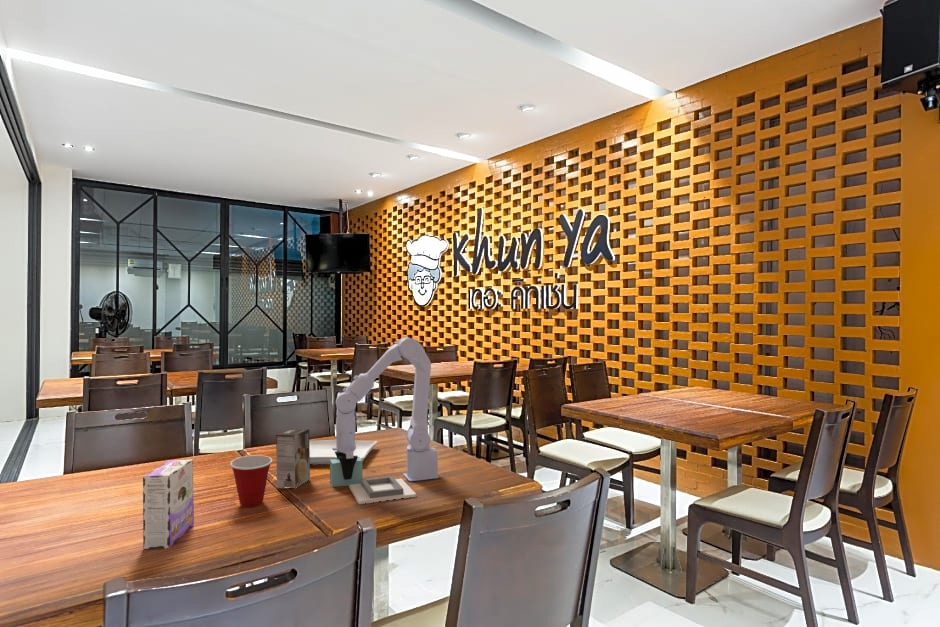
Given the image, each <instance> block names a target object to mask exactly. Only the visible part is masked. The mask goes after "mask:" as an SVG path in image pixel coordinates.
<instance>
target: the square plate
mask: <svg viewBox="0 0 940 627" xmlns="http://www.w3.org/2000/svg"><path fill="white" fill-rule="evenodd" d="M355 445H356V449H355V451H354V452H353V456H358V457H360V458H361V459H362V462H363V461H364V460H365V459H366V457H367V456H368V454H369V453H370V452H371V451H373V449H374V448H375V447H376V445H378V441H377V440H356V439H355ZM332 447H336V439H327V440H326V439H325V440H309V449H310V464H321V465H320V466H323V465H322V464H330V460H331V459H337V456H336V454H335V451H337V450H335V451H333V450H332Z"/></svg>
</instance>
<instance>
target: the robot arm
mask: <svg viewBox="0 0 940 627" xmlns="http://www.w3.org/2000/svg"><path fill="white" fill-rule="evenodd" d="M403 358H404V359H406V360H408V362H410V364H411V365H413V367H414V368H415V370H414V381H413V382H414V384H413V394H412V395H413V396H412V397H413V399H412V406H411V407H412V408H411V418H410V422H409V428H407V431H406V434H405V435H406V436H405V437H406V440H407V442H409V443H408V445H407V447H406V472H404V473H402V475H403V476H404V478H406V480H408V481H409V482H415V481H416V482H417V481H418V482H419V481H425V480H432V479H439V473H438V472H439V471H438V470H439V469H438V468H439V464H438V462H439V461H438V460H439V457H438V451H437V449H436V448H435V447H430V443H431V437H430V434H429V425H428V409H429V395H430V385H431V384H430V382H431V372H432V370H431V369H432V362H431V360H430V358H429V356H428V354H427V353H426V351H425V349H424V347H423V345H422V344H421V343H420V342H418V341H417V340H416V339H414V338H411V337H409V336H405V337H401V338H400V339H399V340H398V341H397V343H396V342H395V343H394V344H393V345H391V346H390V347H389V348H388V349H386V351H385V352H384V353H383V354H382V356H381V357H380V358H379V359H378V360H377V361H376V362H375V363H374V364H373V366H371V368H370V369H369V370H368V371H367V372H365V373H359V375H357V374H356V375H355V376H354V377H353V379H354V380H352V382H350V384H349V385H348V386H347V387H344V388H343V389H342V392H340V393H339V394H338V395H337V397H336V399H335V406H336V418H335V425H336V426H335V427H336V428H335V430H336V431H335V433H336V436H335V437H336V439H335V440H336V447H332V450H333V451H335V450H337V451H335V454H336V456H337V459H339V460H340V463H341V466H342V471H343V477H344V480H347V479H351V478H352V474H353V469H354V465H355V463H356V461H357V458H358V456H353V452H354V451H355V449H356V445H355V440H356V415H355V409H356V407H357V403H359V402H360V401H361V400H362V399H364V397H366V395H367V394H368V393H369V392H370V391H371V390H372V389H374V386H375V380H376V379H377V378H378V377H379V376H380V375H381V374H382V373H383V372H384V371H385V370H386V369H387V368H388V367H389V366H390V365H392V363H396V362H400V361H402V360H403Z"/></svg>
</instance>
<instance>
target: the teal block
mask: <svg viewBox="0 0 940 627" xmlns="http://www.w3.org/2000/svg"><path fill="white" fill-rule="evenodd" d="M363 479H364V478H363V461H362V459H361V458H360V457H358V458H357V461H356V463H355V465H354V469H353V474H352V478H351V479H347V480H344V477H343V471H342V466H341V463H340V460H339V459H331V460H330V465H329V483H330V485H331V487H332V488H336V487H344V486H345V487H346V486H349V485H352V484H361V480H363Z"/></svg>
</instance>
